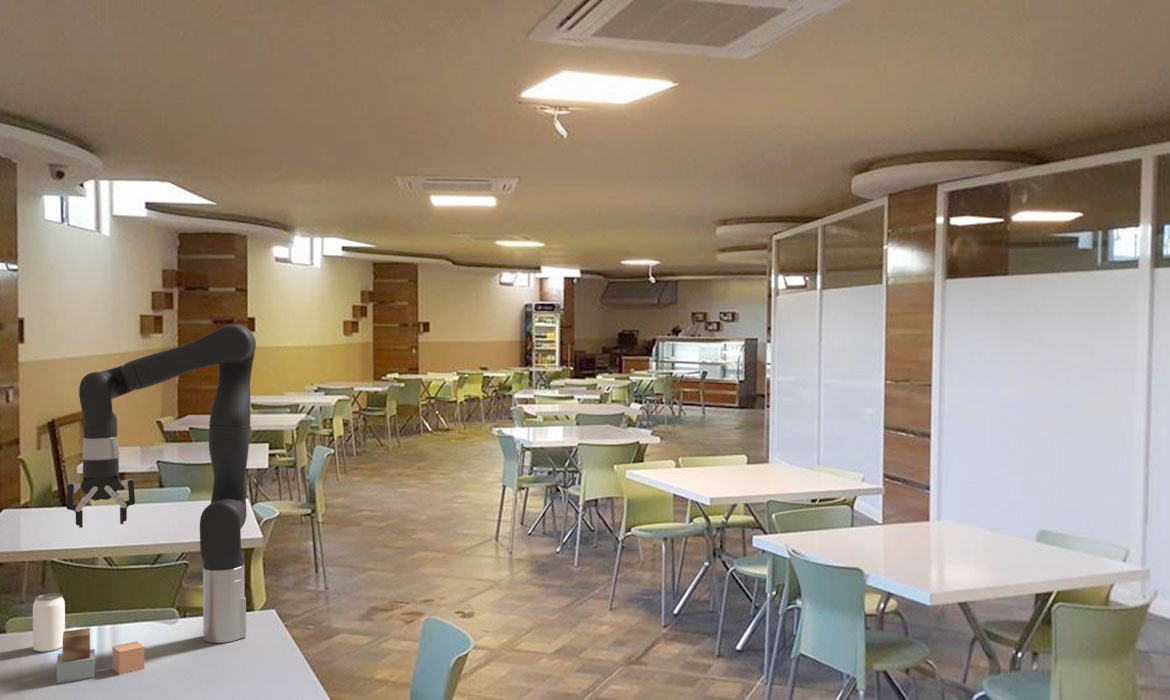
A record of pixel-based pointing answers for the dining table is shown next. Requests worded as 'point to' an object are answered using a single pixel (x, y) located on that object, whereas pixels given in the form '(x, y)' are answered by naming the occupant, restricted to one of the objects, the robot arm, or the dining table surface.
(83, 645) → the walnut cube
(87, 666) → the base block
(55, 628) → the can
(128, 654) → the terracotta cube
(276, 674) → the dining table surface
